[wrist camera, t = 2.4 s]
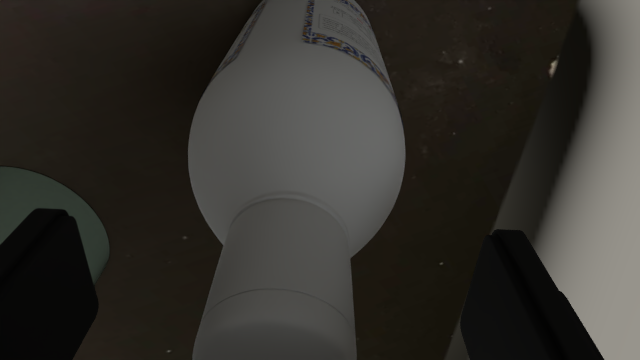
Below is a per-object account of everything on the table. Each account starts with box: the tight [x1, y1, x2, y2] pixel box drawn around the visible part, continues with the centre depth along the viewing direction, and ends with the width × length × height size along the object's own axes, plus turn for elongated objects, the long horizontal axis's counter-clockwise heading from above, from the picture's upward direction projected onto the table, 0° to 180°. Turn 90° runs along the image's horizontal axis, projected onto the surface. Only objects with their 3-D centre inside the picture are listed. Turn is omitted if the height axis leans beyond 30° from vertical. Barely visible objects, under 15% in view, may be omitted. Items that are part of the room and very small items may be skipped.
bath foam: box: [188, 0, 405, 360], centre depth 17 cm, size 7×7×20 cm
